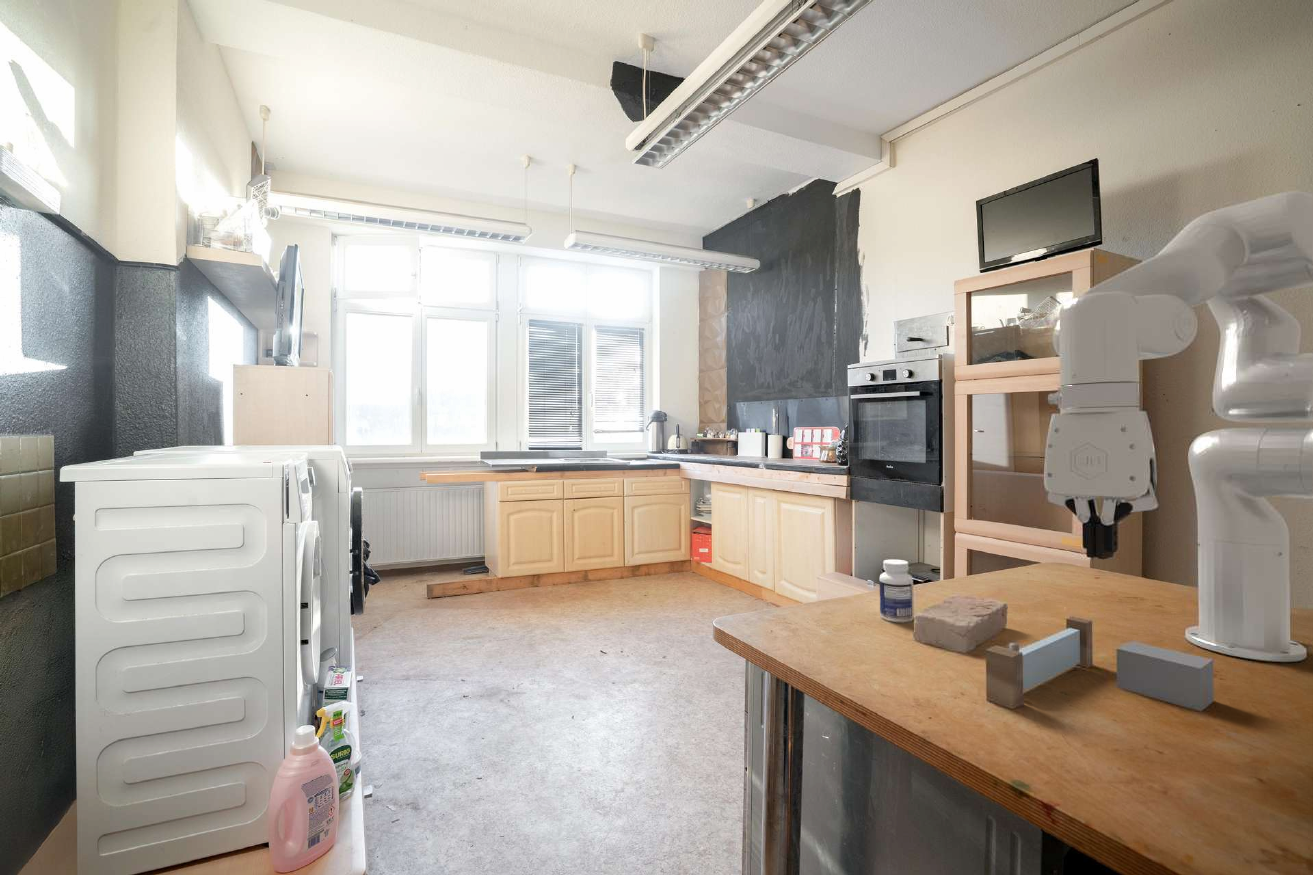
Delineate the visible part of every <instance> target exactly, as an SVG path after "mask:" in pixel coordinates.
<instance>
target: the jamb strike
mask: <svg viewBox="0 0 1313 875" xmlns="http://www.w3.org/2000/svg"><path fill="white" fill-rule="evenodd" d="M1065 622H1066V629H1068V628H1072V629H1077V630H1080V663H1079V664H1077V665H1076V666H1079V667H1083V668H1089V667H1091V666H1093V665H1094V664H1093V661H1094V660H1093V620H1092V619H1091V620H1090V619H1086V618H1081V617H1077V616H1069V617H1067V618H1065ZM1066 629H1065V630H1066Z"/></svg>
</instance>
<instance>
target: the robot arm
mask: <svg viewBox="0 0 1313 875" xmlns="http://www.w3.org/2000/svg"><path fill="white" fill-rule="evenodd" d="M1307 287H1313V193H1310V192H1305V191H1301V190H1289V191H1284V192H1283V191H1282V192H1280V193H1275V194H1272V195H1268V196H1263V197H1260V198H1257V199H1253V200H1249V201H1245V202H1241V203H1237V204H1234V205H1230V206H1229V205H1228V206H1227V207H1222V208H1218V209H1216V210H1212V211H1209V212H1207V213H1205V214H1202V215H1200V216H1199V217H1197V218H1195V219H1193V220H1192V221H1191V222H1189V223H1188V224H1187V225H1185V227H1184V228H1183V229H1182V230H1180V232H1179V233H1178V234H1177V235H1175V237H1174V238H1173V239H1172V240H1171V241H1169V242H1168V244H1167V245H1166V246H1164V247H1163V248H1162V249H1161V250H1160V251H1159V252H1158V253H1157V255H1155V256H1153V257H1151V258H1148V259H1147V260H1144V261H1142V262H1140V263H1137V264H1135V265H1133V266H1132V267H1130V268H1127V269H1126V270H1125V271H1122V272H1120V273H1119V274H1116V275H1114V276H1112V277H1111V278H1108V279H1106V280H1104V281H1102V282H1100V283H1099V284H1096V285H1095V286H1093V287H1091V288H1089V289H1088V290H1087V291H1085V292H1083V293H1082V294H1081V295H1078V296H1075V297H1074V296H1073V297H1071V298H1069V299H1067V300H1066V301H1065V302H1064V303H1062V305H1061V307H1060V310H1059V318H1058V320H1057V322H1056V324H1055V326H1054V330H1053V334H1052V344H1053V348H1054V350H1055V353H1056V354H1057V355H1058V357H1059V387H1058V388H1057V389H1058V390H1057V391H1056V392H1055V393H1049V394H1048V397H1047V402H1048V404H1049V405H1055V406H1058V409H1059V410H1060V413H1052V414H1051V418H1050V422H1049V427H1048V431H1047V432H1048V433H1047V438H1046V443H1045V444H1046V445H1045V452H1044V453H1045V455H1044V465H1043V466H1044V467H1043V468H1044V469H1043V485H1044V489H1045V491H1046V492H1047V501H1048V502H1050V503H1051V504H1052V503H1053V504H1055V505H1058V506H1062V507H1066V508H1067V509H1069V510H1070V512H1072V514H1074V515H1075V517H1076V518H1077V520H1078V522H1080V523H1082V532H1081V533H1082V534H1081V535H1082V548H1083V549H1085V550H1086V554H1085V555H1086V557H1087V558H1089V559H1090V558H1091V559H1094V558H1097V560H1107V559H1110V558H1113V557H1114V553H1117V551H1118V548H1119V542H1118V541H1119V538H1118V537H1119V532H1118V531H1119V530H1118V526H1119V524H1120V523H1121V522H1122V521H1123V520H1124V519H1125V518H1127V517H1129V515H1131V514H1133V513H1136V512H1144V511H1152V510H1156V509H1157V508H1158V506H1159V504H1158V500H1157V497H1156V494H1155V493H1156V491H1157V483H1158V479H1157V478H1158V476H1157V474H1158V472H1157V459H1156V453H1155V452H1156V451H1155V445H1154V440H1153V439H1154V438H1153V434H1152V429H1151V428H1152V427H1151V424H1150V420H1149V418H1148V414H1147V411H1146V410H1144V411H1142V410H1140V383H1139V382H1140V361H1141V360H1152V359H1154V360H1155V359H1161V358H1167V357H1169V356H1174V355H1176V354H1178V353H1181V352H1183V351H1184V350H1185V349H1186V348H1187V347H1188V346H1190V345H1191V344H1192V343H1193V341H1194V340H1195V337H1196V335H1197V332H1198V327H1199V321H1198V317H1197V314H1196V311H1195V310H1194V308H1195V307H1198V306H1200V305H1202V304H1204V303H1206V304H1207V305H1208V308H1209V309H1210V312H1211V313H1212V315H1213V316H1214V319H1215V321H1216V323H1217V325H1218V328H1219V331H1220V332H1219V333H1220V342H1219V349H1218V355H1217V361H1216V368H1215V374H1214V380H1213V387H1212V408H1213V410H1214V411H1215V413H1216V414H1217V415H1218V416H1219V417H1220V418H1222V419H1224V420H1226V421H1230V422H1235V423H1259V424H1260V423H1313V352H1309V353H1307V352H1305V353H1299V351H1300V343H1301V333H1302V327H1301V325H1300V323H1299V321H1298V320H1297V319H1296V318H1295V317H1294V316H1293V315H1292V314H1291V313H1289V312H1288V311H1287V310H1286V309H1284V308H1283V307H1281V306H1279V305H1278V304H1276V303H1275V302H1273V301H1271V300H1270V299H1268V298H1267V297H1266V296H1264V295H1263V294H1271V293H1277V292H1282V291H1283V292H1284V291H1288V290H1289V291H1290V290H1296V289H1302V288H1307ZM1187 456H1188V457H1187V459H1188V468H1189V472H1190V476H1191V480H1192V483H1193V488H1194V493H1195V501H1196V514H1197V564H1198V565H1197V570H1198V571H1197V572H1198V574H1197V576H1198V579H1197V581H1198V585H1197V587H1198V625H1195V626H1190V627H1187V628H1186V629H1185V634H1184V636H1185V639H1186V640H1188V641H1189V642H1190V643H1191V644H1193V645H1195V646H1198V647H1200V648H1203V649H1206V650H1209V651H1211V652H1212V651H1213V652H1215V653H1220V654H1223V655H1228V656H1233V657H1237V658H1243V659H1249V660H1255V661H1265V662H1278V663H1280V662H1281V663H1290V662H1300V661H1303V660H1305V659H1307V648H1306V647H1305V646H1304V645H1302V644H1301V643H1299V642H1296V641H1294V640H1293V639H1292V640H1291V609H1290V606H1291V604H1290V601H1291V598H1290V595H1291V593H1290V591H1291V590H1290V533H1289V528H1288V525H1287V523H1286V521H1285V518H1283V516H1282V515H1281V514H1280V513H1279V512H1278V510H1277V509H1276V508H1274V506H1272V504H1271V503H1270V502H1269V501H1268V500H1267V499H1266V498H1265V497H1269V498H1270V497H1271V498H1272V497H1273V498H1274V497H1275V498H1276V497H1277V498H1293V499H1295V498H1296V499H1309V500H1310V499H1312V500H1313V427H1237V428H1236V427H1231V428H1220V429H1215V430H1211V431H1207V432H1205V433H1203V434H1201V435H1199V436H1197V437H1196V438H1195V439H1194V440H1193V442H1192V443H1191V444H1190V447H1189V449H1188V453H1187ZM1097 499H1100V500H1101V499H1103V502H1102V503H1103V504H1102V510H1101V515H1100V516H1099V511H1098V506H1097ZM1128 500H1130V501H1128Z"/></svg>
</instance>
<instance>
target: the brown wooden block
mask: <svg viewBox="0 0 1313 875" xmlns="http://www.w3.org/2000/svg"><path fill="white" fill-rule="evenodd" d="M985 674H986V675H985V678H986V679H985V680H986V681H985V683H986V684H985V686H986V687H985V690H986V695H985V696H986V701H989V702H991V703H994V704H996V705H1000V706H1002V707H1005V708H1008V709H1011V710H1015V709H1016V708H1018V707H1020V706H1022V705H1023V704H1024V692H1023V654H1022V652H1018V651H1015V650H1011V649H1009V648H1007V647H1004V646H999V645H994V646H992V647H989V648H987V649H985Z"/></svg>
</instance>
